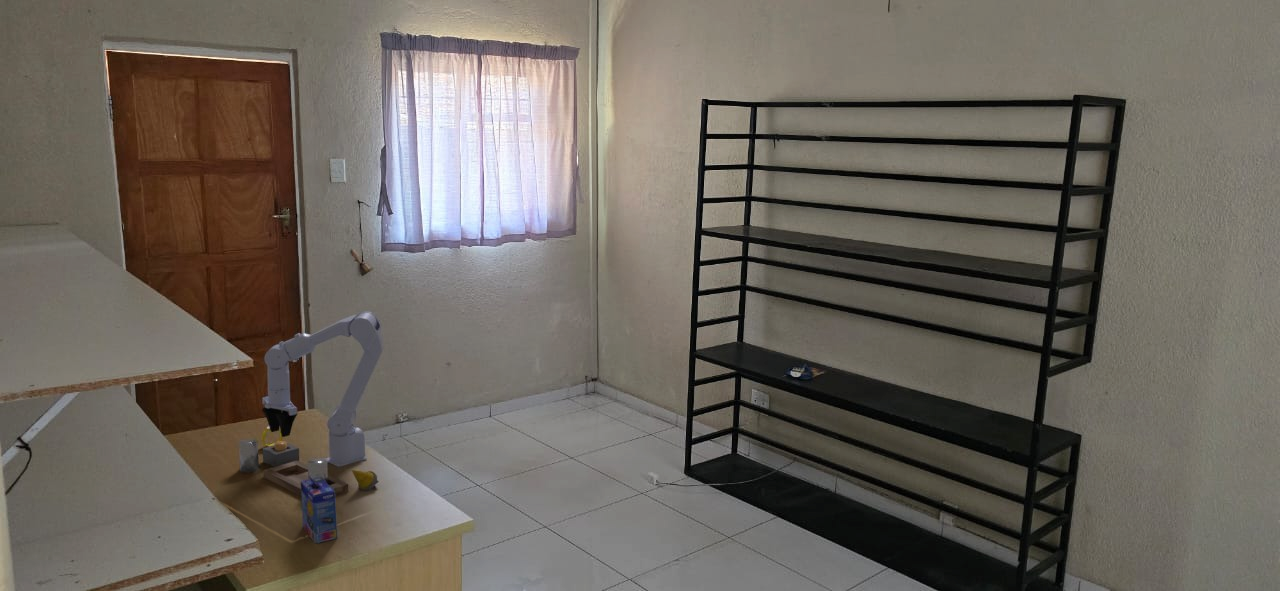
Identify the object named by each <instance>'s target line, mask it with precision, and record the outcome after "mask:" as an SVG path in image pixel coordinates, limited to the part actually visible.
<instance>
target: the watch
mask: <svg viewBox="0 0 1280 591" xmlns="http://www.w3.org/2000/svg"><path fill="white" fill-rule="evenodd" d="M269 432H271V430H270V427H269V425H268V426H266V428H265V429H264V431H263V432H262V433H261V435H260V436H261V437H260V438H261V442H262V445H264V446H266V447H269V446H273V445H275V443H276V442H279V441H283V438H284V437H282V435H281V430H280V428H279V431H278V432H279V439H278V440H277V441H276V442H274V443H271V444H267V443H266V442H265V436H266V435H267V433H269Z"/></svg>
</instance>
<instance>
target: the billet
mask: <svg viewBox="0 0 1280 591" xmlns="http://www.w3.org/2000/svg"><path fill="white" fill-rule="evenodd" d="M307 465H308V480H311V479H310V478H309V476H310V477H311V478H312V479H316V478H320V477H321V478H323V479H324V480H325V481H326V482H327V484H328V475H329V472H328V471H329V470H328V462H327V460H326V459H325V458H323V457H322V458H320V457H319V458H312V459H310V460H308V461H307Z"/></svg>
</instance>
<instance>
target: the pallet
mask: <svg viewBox="0 0 1280 591" xmlns="http://www.w3.org/2000/svg"><path fill="white" fill-rule="evenodd" d="M262 474H263V478H264V479H265V480H268V481H270V482H272V483H274V484H276V485H277V486H279V487H282V488H284V489H286V490H288V491H290V492H292V493H294V494H296V495H298V496H300V497H302V495H301V482H302V481H305V480H308V464H305V463H303V462H301V461H300V460H299V461H293V462H290V463H287V464H283V465H280V466H276V467H273V466H272V467H269V468H266V469H263V473H262ZM328 485H329V486H331V487H332V488H333V489H334V490H335V497H336V496H339V495H342V494H344V493H348V492H349V483H347V482H345V481H344V480H340V479H338V478H336V477H334V476H332V475H330V474H328Z"/></svg>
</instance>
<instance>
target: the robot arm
mask: <svg viewBox="0 0 1280 591" xmlns="http://www.w3.org/2000/svg"><path fill="white" fill-rule="evenodd" d="M381 326H382V325H381V322H380V321H379V319H378V317H377V316H376V314H374V313H373V312H371V311H362V312H360V313H358V314H353V315H350V316H347V317H344V318H343V319H340V320H338V321H337V322H334V323H332V324H330V325H328V326H326V327H324V328H322V329H320V330H318V331H316V332H314V333H312V334H309V333H307V332H306V333H305V332H303V333H300V332H298V333H296V334H294V336H293V337H292V338H290V339H288V340H286V341H283V340H282V341H279V343H278V344H275V345H273V346H272V347H270V348H269V350H267V351H266V353H265V354H264V358H263V359H264V363H265V364H266V366H267V369H266V370H267V395H268V396H264V397H262V398H261V399H262V400H261V401H262V403H261V404H262V405H264V407H262V408H261V411H262V413H263V414H264V416H265V418H266V421H267V423H268V426H269V427H270V430H271V431H270V432H271V433H275V432H279V429H280V430H281V435H282V437H283V438H285V437H289V436H290V435H291V432H292V428H293V425H294V421H295V419H296V418H297V416H298V407H296V406H295V405H294V404H293V402H292V401H291V387H290V386H291V383H290V382H291V381H290V370H289V369H290V364H289V362H293V361H295V360H298V359H300V358H301V357H304V356H306V355H309V354H311V353H313V352H314V350H315V348H316V346H318V345H320V344H322V343H325V342H327V341H329V340H331V339H335V338H337V337H338V336H342V337H346V338H350V337H351V336H352V337H353V338H354V339H355V340H356V341H357V342H358V343H359V344H360V346H361V348H362V349H363V354H362V356H361V358H360V360H359V362H358V365H357V367H356V369H355V371H354V373H353V375H352V378H351V380H350V381H349V384H348V386H347V389H346V390H345V393H344V395H343V396H342V399H341V401H340V403H339V405H337V407H336V408H335V409H334V411H333V413H332V414H331V416H330V417H329V418H328V420H327V422H326V423H327V428H328V450H329V452H328V453H329V456H328V457H325V458H324V459H326V460H327V463H329V464H331V465H334V466H335V467H338V468H340V467H343V466H346V465H349V464H354V463H356V462H359V461H361V462H362V461H364V460H367V458H368V457H367V456H366V441H365V434H364V431H363V430H362V429H361V427H360V428H359V427H357V426H356V427H355V425H354V422H355V421H356V417H357V413H356V412H357V408H358V405H359V403H360V401H361V398H362V396H363V394H364V392H365V390H366V388H367V385H368V383H369V381H370V379H371V378H372V374H373V372H374V370H375V369H376V366H377V364H378V362H379V359H380V357H381V355H382V354H383V351H384V347H385V346H384V341H383V335H382V327H381Z"/></svg>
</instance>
